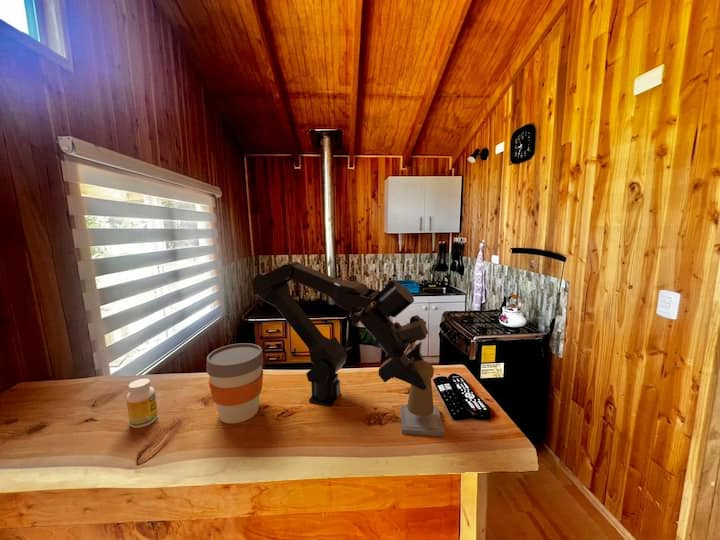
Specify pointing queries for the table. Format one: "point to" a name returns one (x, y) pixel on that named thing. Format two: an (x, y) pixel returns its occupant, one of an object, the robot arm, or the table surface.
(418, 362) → the cork
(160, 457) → the table surface
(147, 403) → the supplement bottle
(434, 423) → the coaster
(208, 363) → the reusable coffee cup
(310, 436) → the table surface
